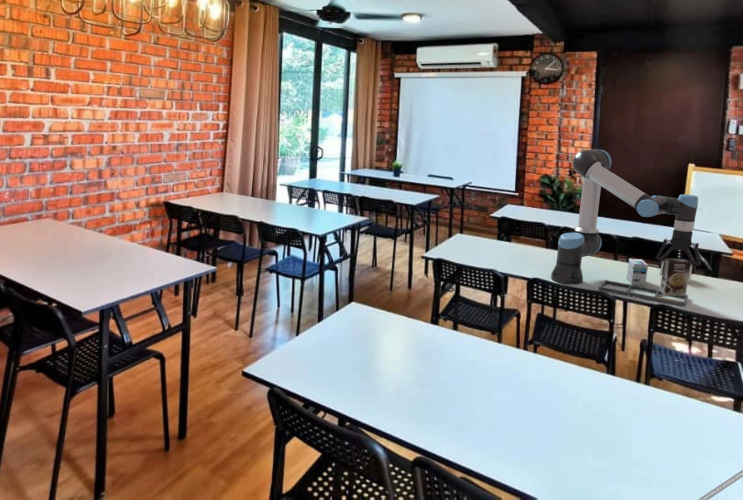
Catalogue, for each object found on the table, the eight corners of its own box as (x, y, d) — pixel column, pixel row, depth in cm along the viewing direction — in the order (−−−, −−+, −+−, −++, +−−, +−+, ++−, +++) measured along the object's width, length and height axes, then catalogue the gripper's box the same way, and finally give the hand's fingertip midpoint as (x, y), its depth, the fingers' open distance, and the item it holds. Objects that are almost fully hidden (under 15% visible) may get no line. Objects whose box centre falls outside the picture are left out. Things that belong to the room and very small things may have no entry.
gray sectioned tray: (598, 290, 254) (599, 286, 254) (604, 283, 265) (605, 279, 264) (684, 306, 235) (685, 303, 234) (687, 298, 245) (688, 294, 245)
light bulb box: (645, 285, 262) (648, 264, 260) (630, 284, 264) (634, 263, 261) (639, 279, 273) (642, 259, 270) (625, 278, 274) (628, 258, 271)
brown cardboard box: (664, 295, 240) (669, 261, 236) (659, 291, 246) (663, 257, 242) (686, 296, 239) (691, 262, 235) (680, 291, 245) (685, 258, 241)
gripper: (653, 227, 238) (645, 274, 244) (713, 235, 225) (703, 284, 231) (655, 224, 244) (648, 270, 250) (714, 232, 231) (704, 280, 237)
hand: (674, 277), depth 240 cm, fingers closed on brown cardboard box, 10 cm apart
